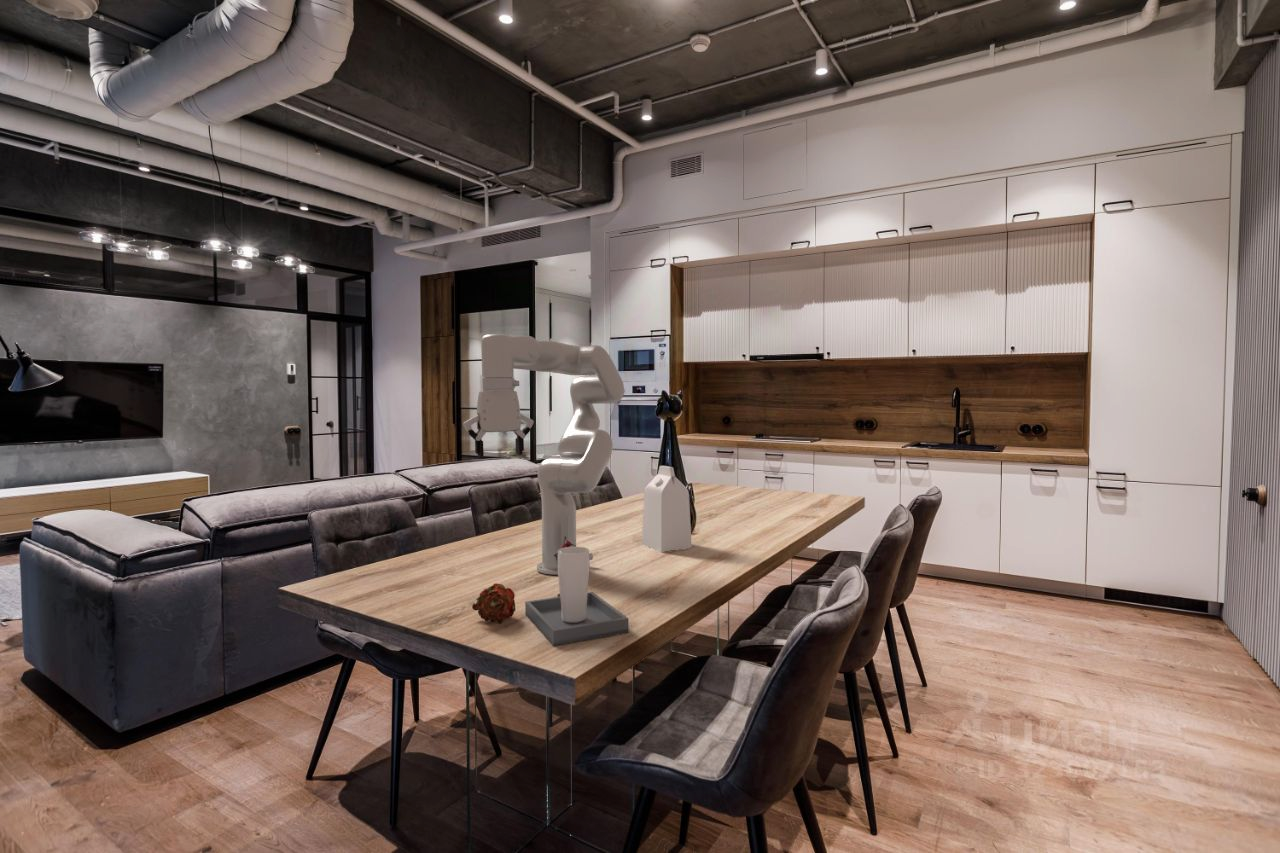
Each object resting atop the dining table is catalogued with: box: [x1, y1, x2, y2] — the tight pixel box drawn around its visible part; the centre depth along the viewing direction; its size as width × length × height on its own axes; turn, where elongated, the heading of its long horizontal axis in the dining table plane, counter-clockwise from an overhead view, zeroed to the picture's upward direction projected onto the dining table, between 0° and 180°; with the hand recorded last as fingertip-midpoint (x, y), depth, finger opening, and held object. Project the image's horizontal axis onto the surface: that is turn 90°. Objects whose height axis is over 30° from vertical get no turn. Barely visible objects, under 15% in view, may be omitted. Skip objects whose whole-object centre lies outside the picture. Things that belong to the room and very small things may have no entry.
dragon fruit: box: [471, 582, 516, 624], centre depth 139 cm, size 8×8×12 cm
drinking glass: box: [557, 546, 591, 623], centre depth 136 cm, size 7×7×15 cm
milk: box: [641, 465, 693, 553], centre depth 207 cm, size 12×12×26 cm
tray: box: [524, 591, 630, 647], centre depth 136 cm, size 16×20×3 cm
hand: (500, 455), depth 157 cm, fingers open, 9 cm apart
